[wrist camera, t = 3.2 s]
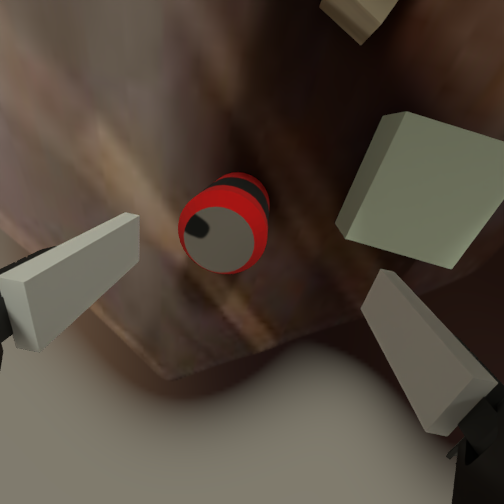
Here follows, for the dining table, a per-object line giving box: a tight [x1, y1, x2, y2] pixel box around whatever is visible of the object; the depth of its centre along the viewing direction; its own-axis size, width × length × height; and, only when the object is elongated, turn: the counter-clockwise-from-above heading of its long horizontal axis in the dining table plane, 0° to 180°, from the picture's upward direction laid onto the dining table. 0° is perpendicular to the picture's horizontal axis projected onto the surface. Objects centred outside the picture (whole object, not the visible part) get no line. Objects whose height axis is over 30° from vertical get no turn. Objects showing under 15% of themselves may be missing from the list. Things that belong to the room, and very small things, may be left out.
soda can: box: [178, 172, 270, 274], centre depth 25 cm, size 8×8×12 cm
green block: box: [335, 111, 504, 269], centre depth 25 cm, size 12×12×5 cm
